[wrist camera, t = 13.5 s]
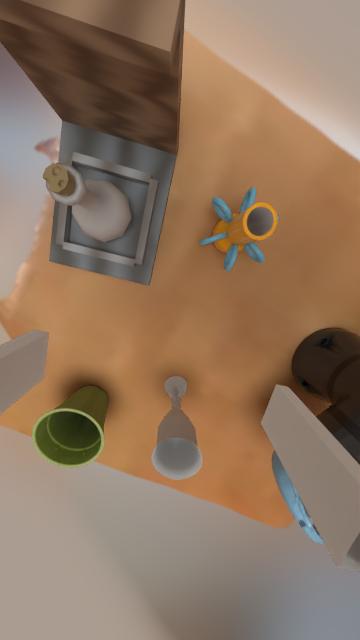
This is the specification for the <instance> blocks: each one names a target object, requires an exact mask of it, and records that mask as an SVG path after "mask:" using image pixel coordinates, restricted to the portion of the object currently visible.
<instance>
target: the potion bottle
mask: <svg viewBox="0 0 360 640" xmlns="http://www.w3.org/2000/svg"><path fill="white" fill-rule="evenodd" d="M43 178H44V179H45V180H46V187H47V189H48V191H49V192H50V194H51V196H52V197H53V199H54V200H56V201H59V202H61V203H63V204H66V205H70V206H72V214H73V216H74V217H75V219H76V221H77V222H78V224H79V226H80V227H81V229H82V231H83V232H84V233H85V234H86V235H88V236H90V237H93V238H95V239H98V240H100V241H102V242H107V241H110V240H112V239H115V238H118V237H121V236H123V234H124V232H125V230H126V229H127V227H128V225H129V223H130V221H131V219H132V218H131V212H130V207H129V201H128V197H127V196H126V195H125V194H124V193H123V192H122V191H121V190H120V189H119V188H118V187H117V186H116V185H115V184H114V183H113V182H112V181H108V180H97V179H87V180H86V181H84V179H83V177H82V175H81V174H80V173H79V172H78V171H77V170H76V169H75V168H74V167H72V166H71V165H70V164H63V163H56V164H51V165H50V166H48V167H47V168H46V169H45V172H44V174H43Z"/></svg>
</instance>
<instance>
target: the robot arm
mask: <svg viewBox="0 0 360 640" xmlns="http://www.w3.org/2000/svg"><path fill="white" fill-rule="evenodd" d="M48 338H49V333H48V332H44V331H39V330H32V331H30V332H28V333H26V334H24V335H22V336H19V337H17V338H15V339H13V340H11V341H9V342H6V343H4V344H2V345H0V415H1V414H2V413H3V412H4V411H5V410H7V409H8V408H9V407H10V406H11V405H12V404H14V403H15V402H16V401H17V400H18V399H19V398H21V397H22V396H23V395H24V394H25V393H26V392H28V391H29V390H30V389H31V388H32V387H34V386H35V385H36V384H37V383H38V382H39V381H41V380H42V379H43V378H44V373H45V365H46V356H47V347H48ZM292 373H293V376H294V378H295V380H296V382H297V383H298V384H299V385H300V386H301V387H302V388H303V389H304V390H305V391H306V392H307V393H309V394H310V395H312V396H314V397H317V398H319V399H321V400H324V401H326V402H328V403H331V404H333V405H331V406H330V407H329V408H327V409H326V410H324V411H323V412H322V413H321V414H319V415H318V416H317V417H315V415H314V414H313V413H312V412H311V411H310V410H309V409H308V408H307V407H306V406H305V405H304V403H303V402H302V401H301V400H300V399H299V398H298V397H297V396H296V395H295V394H294V393H293V391H292V390H291V389H290V388H289V387H286V386H282V385H278V384H276V386H275V388H274V391H273V393H272V396H271V398H270V401H269V403H268V406H267V409H266V411H265V414H264V416H263V419H262V421H261V425H262V427H263V429H264V431H265V432H266V434H267V436H268V438H269V440H270V442H271V444H272V446H273V448H274V449H275V451H274V452H273V454H272V469H273V473H274V476H275V479H276V482H277V485H278V487H279V489H280V492H281V494H282V496H283V498H284V500H285V502H286V504H287V506H288V508H289V509H290V511H291V513H292V514H293V516H294V517H295V519H297V520H298V522H299V524H300V526H301V528H302V529H303V530H304V532H305V533H306V534H307V535H308V536H309V537H310V538H311V539H312V540H313V541H315V542H317V543H323V544H325V545H326V547H327V549H328V551H329V553H330V555H331V557H332V559H333V561H334V562H335V564H336V566H337V568H339V569H345V570H352V571H358V572H360V337H359V336H357V335H356V334H354V333H351V332H349V331H346V330H343V329H339V328H328V329H324V330H320V331H318V332H316V333H314V334H312V335H310V336H309V337H308V338H306V339H305V340H304V341H303V342H302V343H301V344H300V346H299V347H298V348H297V350H296V352H295V354H294V357H293V360H292Z"/></svg>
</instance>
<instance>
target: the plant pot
mask: <svg viewBox="0 0 360 640" xmlns="http://www.w3.org/2000/svg"><path fill="white" fill-rule="evenodd" d="M107 407H108V397H107V395H106V393H105V392H104V391H103V390H102V389H100V388H98V387H96V386H84V387H82V388H80V389H79V390H78V391H77V392H75V393H74V394H73V395H72V396H71V397H70V398H68V399H67V400H66V401H65V402H64V403H62V404H61V405H60V406H58V407H57V408H55V409H54V410H51V411H49V412H47V413H45V414H44V415H42V416H41V417H40V418H39V419H38V420H37V421H36V423H35V425H34V427H33V431H32V440H33V443H34V446H35V448H36V450H37V451H38V453H39V454H40V455H41V456H42V457H43V458H45V459H46V460H47V461H49V462H51V463H53V464H55V465H58V466H62V467H80V466H84V465H87V464H89V463H91V462H92V461H94V460H95V459H96V458H97V457H98V456H99V455H100V453H101V452H102V449H103V447H104V433H103V432H104V422H105V417H106V412H107Z"/></svg>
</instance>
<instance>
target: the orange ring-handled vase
mask: <svg viewBox="0 0 360 640" xmlns="http://www.w3.org/2000/svg"><path fill="white" fill-rule="evenodd" d="M255 197H256V188H255V187H251V188H250V189H249V190H248V192H247V193H246V195H245V197H244V200H243V202H242V205H241V209H240V214H236V213H235V214H232V213H231V211H230V209H229V207H228V206H227V205H226V203H225V202H224V201H223V200H222V199H220V198H219V197H214V198H213V199H212V205H213V207H214V209H215V211H216V212H217V214H218V215H219V216H220V218H221V219H222V220H221V221H219V222H218V223H217V225H216V226H215V228H214V230H213V235H212V236H211V237H208V238H206V239H203V240H201V241H200V244H201V245H206V244H209V243H212V242H213V243H214V245H215V247H216V248H217V249H218V250H220V251H221V252H224V253H227V255H226V258H225V262H224V269H225V270H226V271H229V270H230V269H231V268H232V267H233V265H234V263H235V260H236V257H237V253H238V251H241V250H243V249H244V248H245V250H246V252H247V253H248V254H249V256H250V257H251V258H252V259H253V260H255V261H256V262H258V263H263V262H264V255H263V253H262V251H261V250H260V249H259V248H258V246H257V245H255V244H254V243H253V242H254V241H258V240H262V239H265V238H267V237H269V236H270V235H271V234H272V233H273V232H274V230H275V228H276V226H277V220H279V216H278V215H277V213H276V211H275V209H274V208H273V207H272V206H271V205H270V204H268V203H264V202H259V203H256V204H254V205H253V203H254V201H255ZM247 203H248V204H247ZM219 206H220V207H221V208H222V209H223V211H224V212H225V214H226V215H225V214H224V213H223V212H222V210H221V209H220V207H219ZM251 249H252V250H253V251H254V252H255V253H256V254H257V255H255V254H254V252H253V251H252V250H251ZM231 255H232V256H231ZM230 257H231V259H230Z"/></svg>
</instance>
